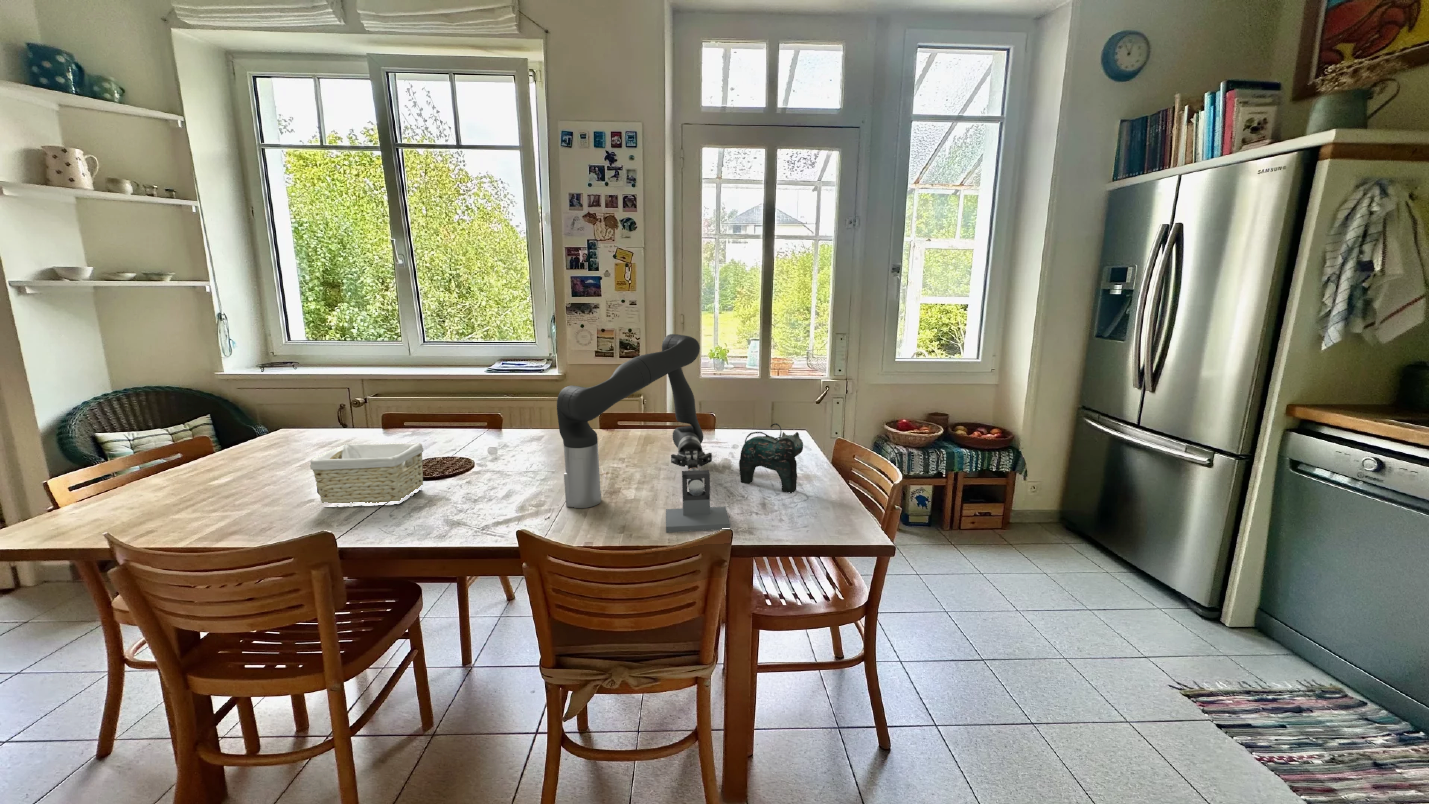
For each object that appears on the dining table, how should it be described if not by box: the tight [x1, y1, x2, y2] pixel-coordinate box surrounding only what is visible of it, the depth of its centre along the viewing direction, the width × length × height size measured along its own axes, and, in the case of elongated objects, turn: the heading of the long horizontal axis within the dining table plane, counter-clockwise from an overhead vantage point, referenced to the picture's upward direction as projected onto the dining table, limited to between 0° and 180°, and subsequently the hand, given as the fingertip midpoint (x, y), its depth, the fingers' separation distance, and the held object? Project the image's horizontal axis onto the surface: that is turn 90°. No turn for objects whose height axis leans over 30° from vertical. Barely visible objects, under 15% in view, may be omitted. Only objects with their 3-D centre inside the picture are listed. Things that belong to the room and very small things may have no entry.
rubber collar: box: [681, 469, 711, 502], centre depth 140 cm, size 7×3×7 cm, turn 95°
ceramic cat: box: [738, 422, 804, 494], centre depth 161 cm, size 20×6×20 cm, turn 56°
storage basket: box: [309, 442, 424, 504], centre depth 156 cm, size 24×16×15 cm
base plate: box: [665, 499, 731, 533], centre depth 139 cm, size 16×11×6 cm
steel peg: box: [687, 467, 705, 496], centre depth 143 cm, size 4×11×4 cm, turn 5°
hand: (693, 467), depth 154 cm, fingers closed
